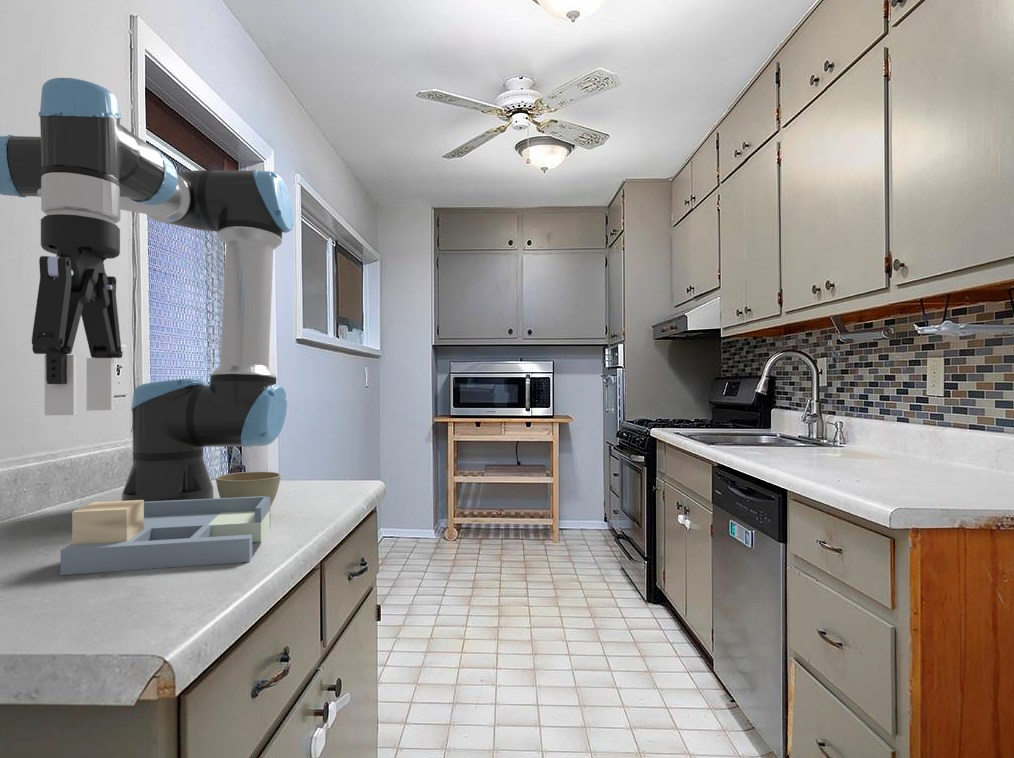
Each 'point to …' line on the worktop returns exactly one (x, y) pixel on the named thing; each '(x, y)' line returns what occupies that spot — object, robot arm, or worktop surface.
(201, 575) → the worktop surface
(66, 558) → the tray
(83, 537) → the block
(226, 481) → the tan bowl
